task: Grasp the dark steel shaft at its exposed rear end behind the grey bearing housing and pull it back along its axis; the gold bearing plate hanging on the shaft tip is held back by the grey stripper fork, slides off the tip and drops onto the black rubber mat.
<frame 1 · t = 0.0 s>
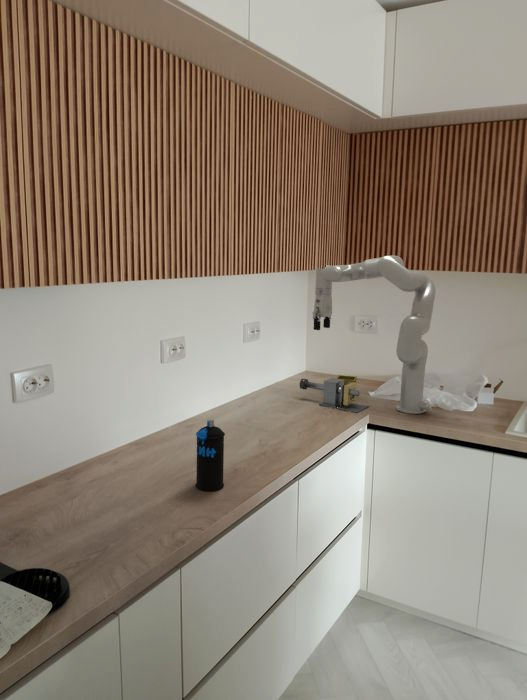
hand: (321, 328, 275), 31 cm above the countertop, fingers open, 9 cm apart
gold bearing plate: (349, 403, 258), point 2 cm above the countertop, touching shaft
bearing housing: (332, 404, 262), on the countertop
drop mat: (352, 408, 257), on the countertop
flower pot: (345, 396, 277), on the countertop
aerosol can: (209, 486, 171), on the countertop
stripper fork: (344, 406, 259), resting on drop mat
shaft: (329, 388, 262), point 7 cm above the countertop, slide at 0.0 cm, touching gold bearing plate
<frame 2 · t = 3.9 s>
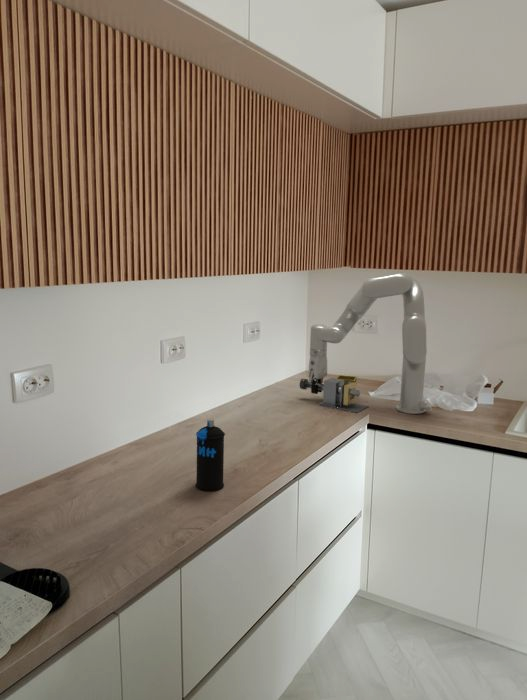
hand: (316, 392, 266), 4 cm above the countertop, fingers closed on shaft, 2 cm apart
shaft: (329, 388, 262), point 7 cm above the countertop, slide at 0.0 cm, touching gripper, gold bearing plate
everything else where it was.
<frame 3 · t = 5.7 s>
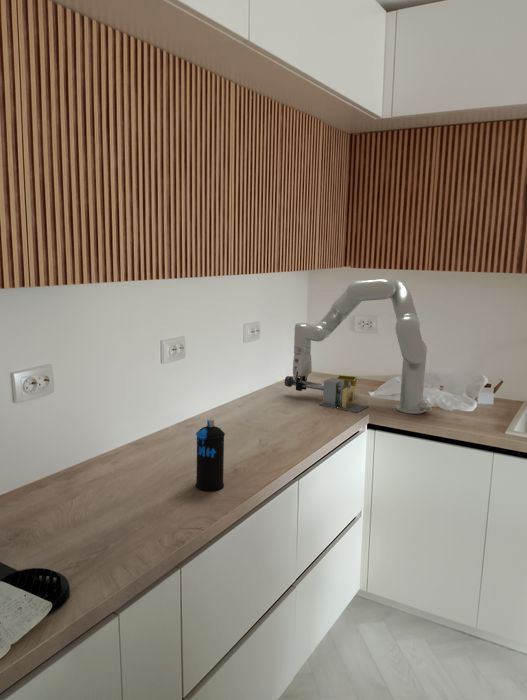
hand: (301, 389, 270), 4 cm above the countertop, fingers closed on shaft, 2 cm apart
gold bearing plate: (347, 406, 258), resting on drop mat
shaft: (313, 385, 266), point 7 cm above the countertop, slide at 8.0 cm, touching gripper
everything else where it was.
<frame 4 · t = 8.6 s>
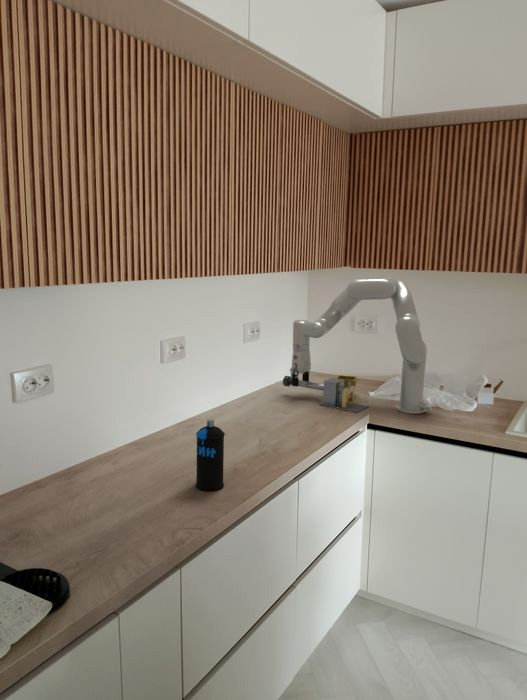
hand: (300, 384, 270), 7 cm above the countertop, fingers open, 9 cm apart
shaft: (312, 385, 267), point 7 cm above the countertop, slide at 8.9 cm
everything else where it was.
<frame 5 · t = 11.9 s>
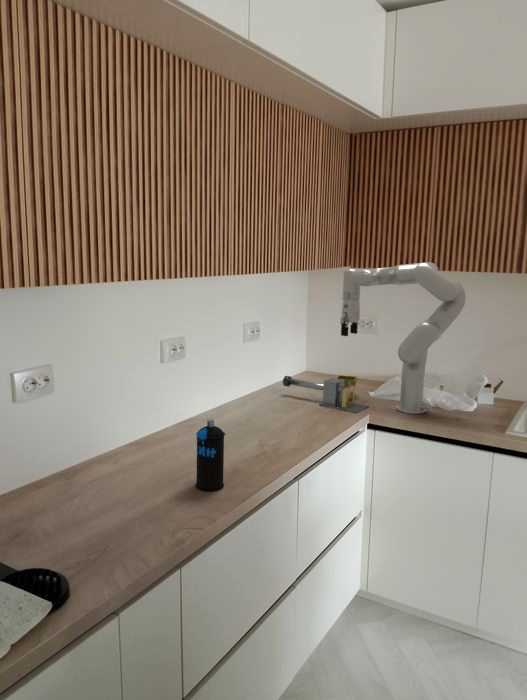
hand: (349, 334, 265), 30 cm above the countertop, fingers open, 9 cm apart
nothing on the countertop moved.
at the end: shaft slide at 8.9 cm; gold bearing plate resting on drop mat; gold bearing plate touching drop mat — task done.
